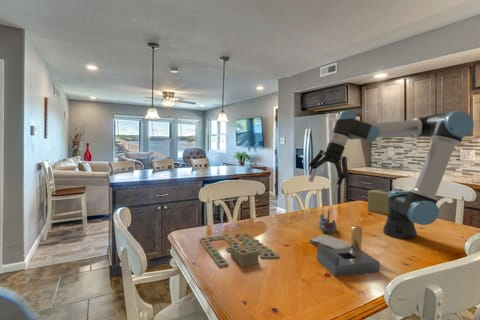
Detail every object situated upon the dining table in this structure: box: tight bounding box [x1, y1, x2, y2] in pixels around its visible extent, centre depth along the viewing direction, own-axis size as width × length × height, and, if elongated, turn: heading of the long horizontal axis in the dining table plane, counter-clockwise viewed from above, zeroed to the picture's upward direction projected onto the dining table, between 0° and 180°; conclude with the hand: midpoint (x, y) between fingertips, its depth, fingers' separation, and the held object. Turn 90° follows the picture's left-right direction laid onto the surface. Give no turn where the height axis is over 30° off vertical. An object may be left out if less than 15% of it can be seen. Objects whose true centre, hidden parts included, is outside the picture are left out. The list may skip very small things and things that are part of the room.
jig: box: [316, 243, 380, 278], centre depth 104 cm, size 18×14×7 cm
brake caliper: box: [318, 210, 338, 234], centre depth 146 cm, size 11×11×12 cm
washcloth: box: [308, 234, 351, 249], centre depth 124 cm, size 12×18×3 cm, turn 35°
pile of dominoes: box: [198, 233, 280, 268], centre depth 121 cm, size 35×27×6 cm
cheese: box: [367, 189, 389, 216], centre depth 179 cm, size 22×10×15 cm, turn 24°
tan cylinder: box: [350, 225, 363, 250], centre depth 114 cm, size 4×4×12 cm
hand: (321, 186), depth 126 cm, fingers open, 13 cm apart
